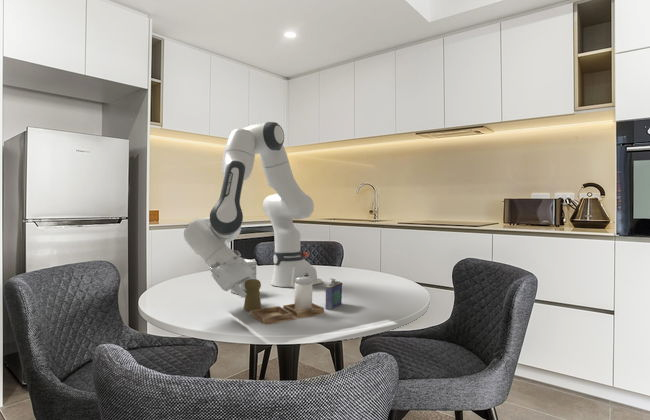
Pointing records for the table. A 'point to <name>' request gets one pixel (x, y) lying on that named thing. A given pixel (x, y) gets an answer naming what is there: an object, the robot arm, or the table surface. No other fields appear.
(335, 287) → the flask
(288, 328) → the table surface
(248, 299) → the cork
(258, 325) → the table surface
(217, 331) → the table surface
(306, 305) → the salt shaker
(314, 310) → the caddy
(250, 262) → the supplement box
